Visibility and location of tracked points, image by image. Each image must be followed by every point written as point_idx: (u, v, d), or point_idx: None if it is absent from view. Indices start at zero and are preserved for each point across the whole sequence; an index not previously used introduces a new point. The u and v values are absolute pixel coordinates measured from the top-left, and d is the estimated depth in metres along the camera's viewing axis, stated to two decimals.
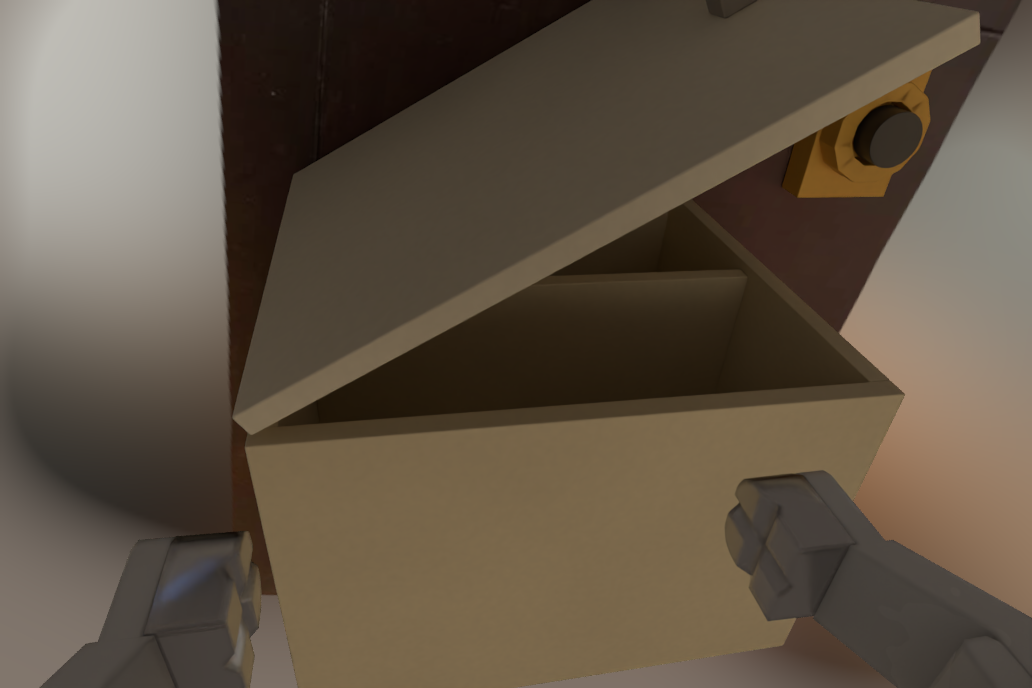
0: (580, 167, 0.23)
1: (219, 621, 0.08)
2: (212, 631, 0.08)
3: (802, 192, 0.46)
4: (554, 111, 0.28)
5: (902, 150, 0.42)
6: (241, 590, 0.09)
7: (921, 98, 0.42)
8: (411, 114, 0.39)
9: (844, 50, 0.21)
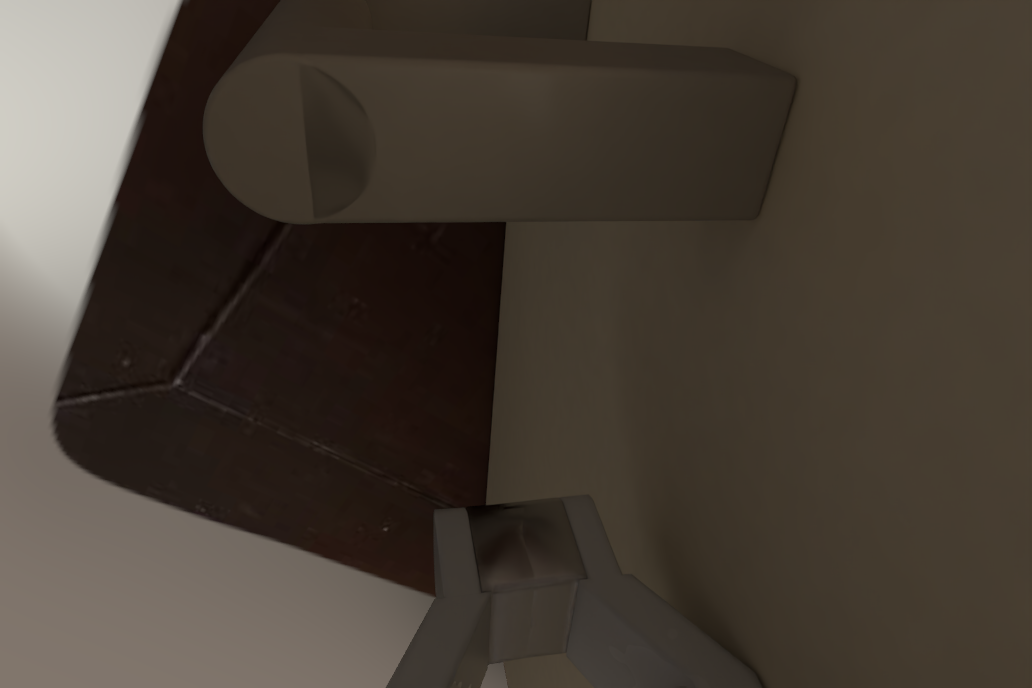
0: None
1: (541, 580, 0.09)
2: (535, 589, 0.09)
3: None
4: None
5: None
6: None
7: None
8: (500, 443, 0.25)
9: None
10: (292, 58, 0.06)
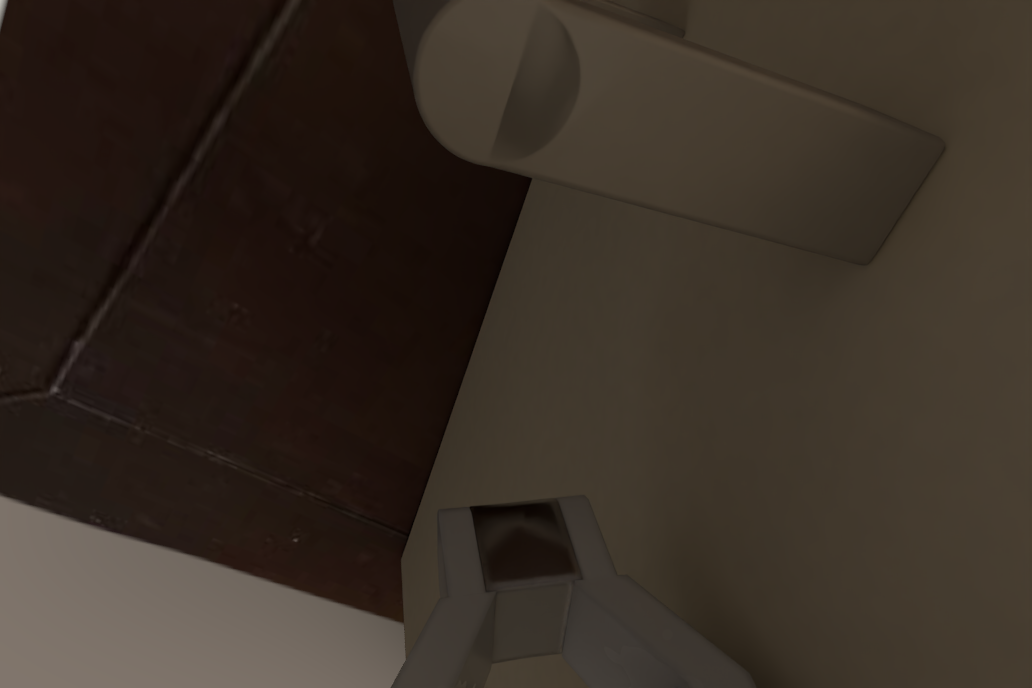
0: None
1: (546, 579, 0.09)
2: (540, 589, 0.09)
3: None
4: None
5: None
6: None
7: None
8: (453, 452, 0.25)
9: None
10: None
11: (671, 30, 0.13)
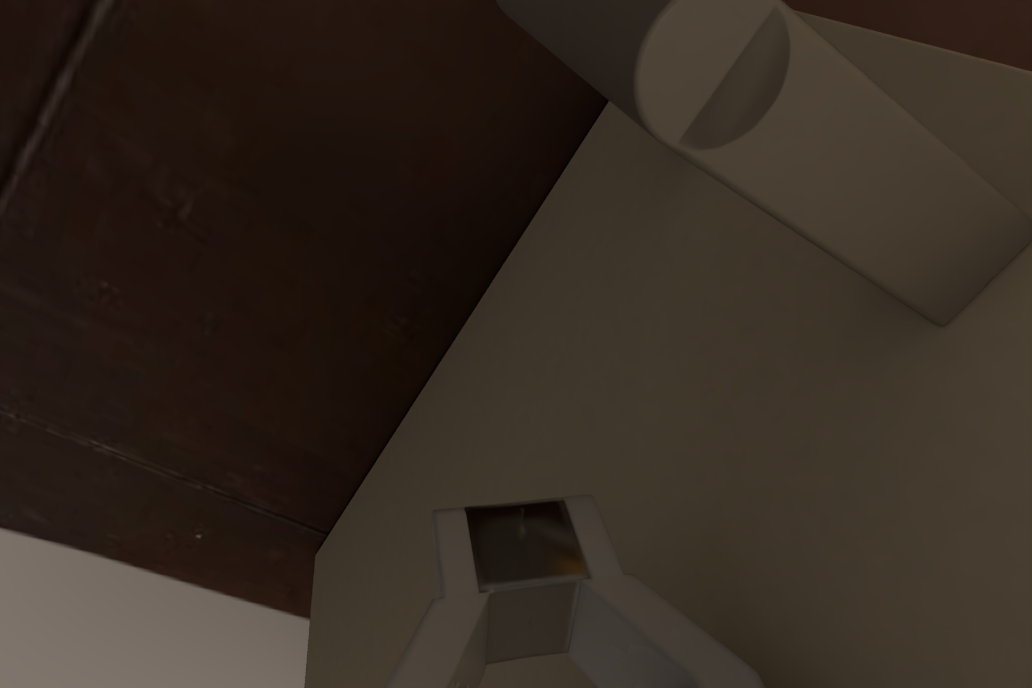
0: None
1: (540, 580, 0.09)
2: (534, 589, 0.09)
3: None
4: None
5: None
6: None
7: None
8: (405, 451, 0.24)
9: None
10: None
11: None
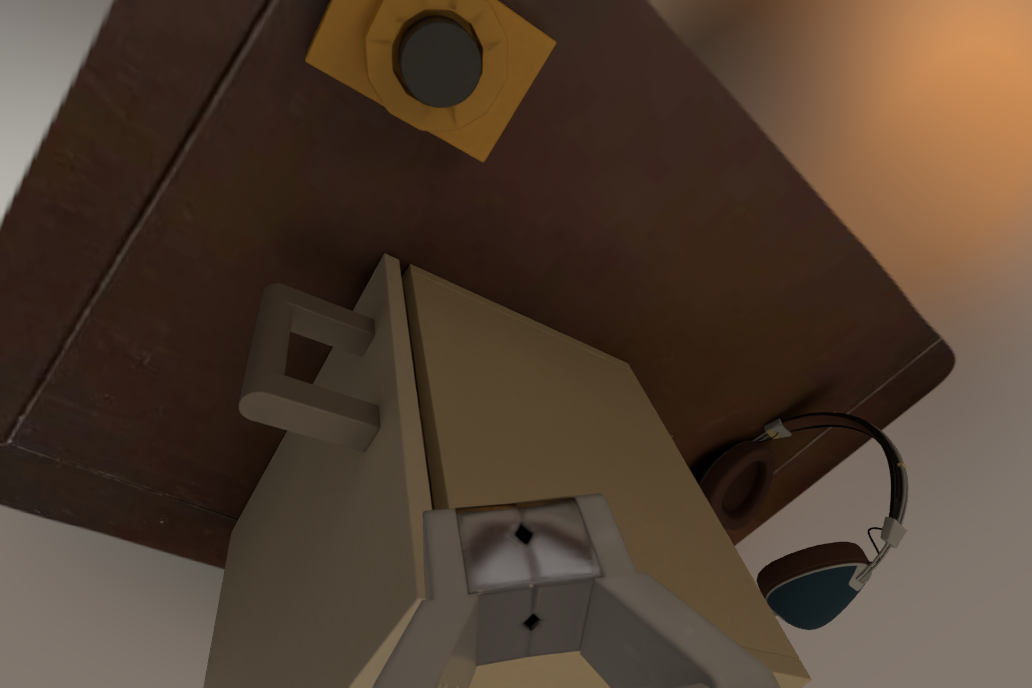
0: (281, 684, 0.28)
1: (529, 581, 0.09)
2: (523, 591, 0.09)
3: (480, 155, 0.35)
4: (297, 554, 0.33)
5: (461, 59, 0.29)
6: None
7: None
8: (271, 474, 0.45)
9: (373, 600, 0.23)
10: (267, 393, 0.27)
11: (368, 333, 0.35)
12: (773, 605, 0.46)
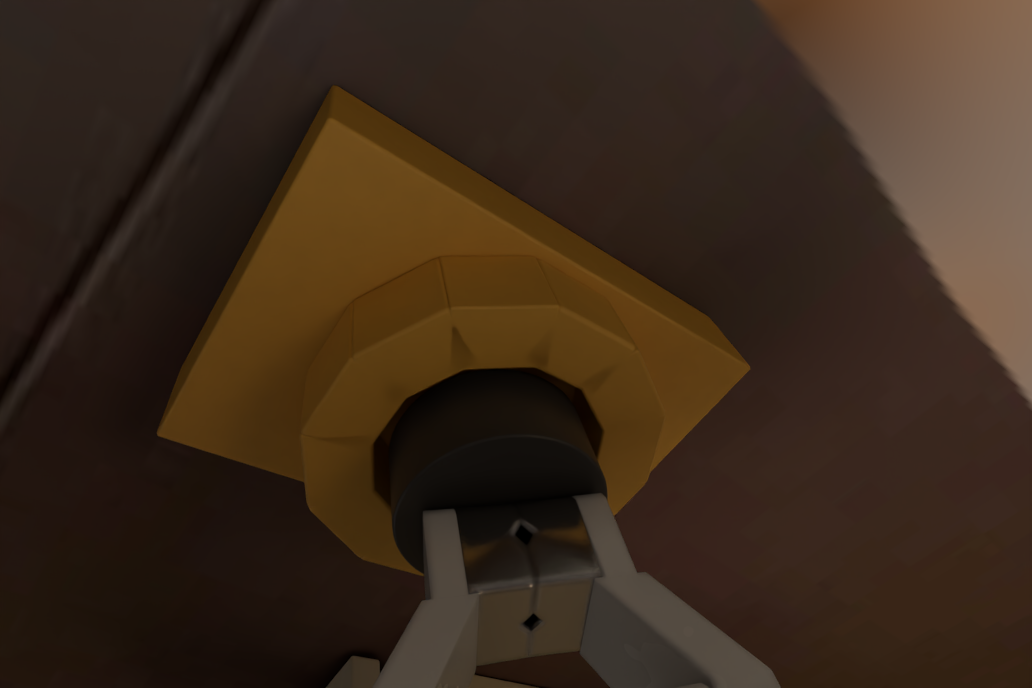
0: None
1: (529, 581, 0.09)
2: (523, 590, 0.09)
3: None
4: None
5: None
6: None
7: (435, 334, 0.10)
8: None
9: None
10: None
11: None
12: None
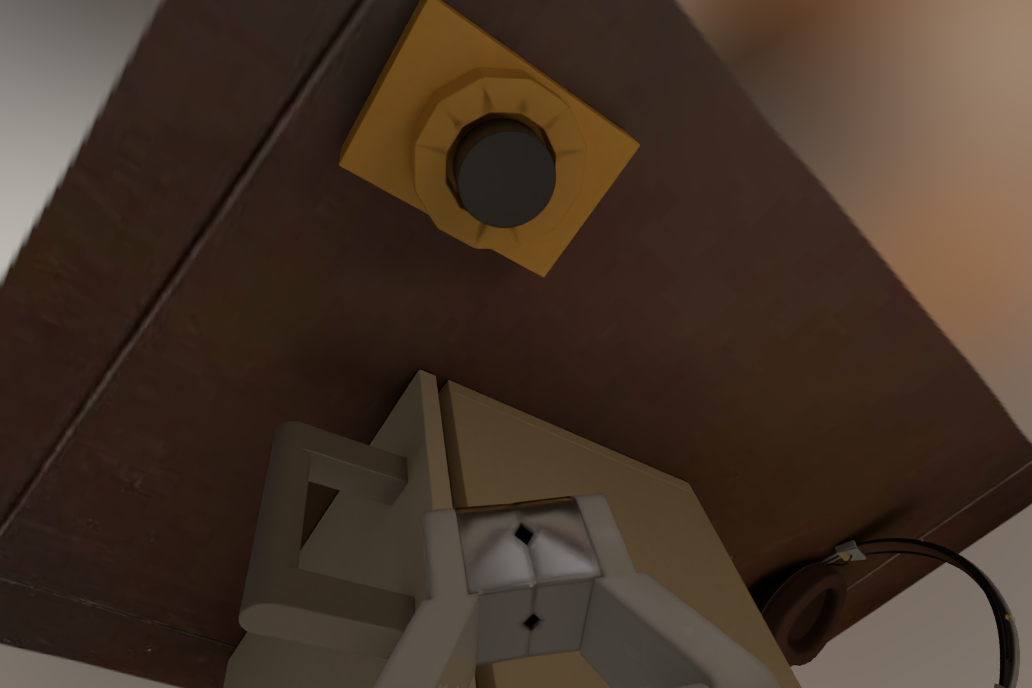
0: None
1: (529, 581, 0.09)
2: (523, 591, 0.09)
3: (540, 269, 0.29)
4: None
5: (532, 173, 0.24)
6: None
7: (476, 91, 0.23)
8: None
9: None
10: (276, 604, 0.21)
11: (400, 481, 0.29)
12: None
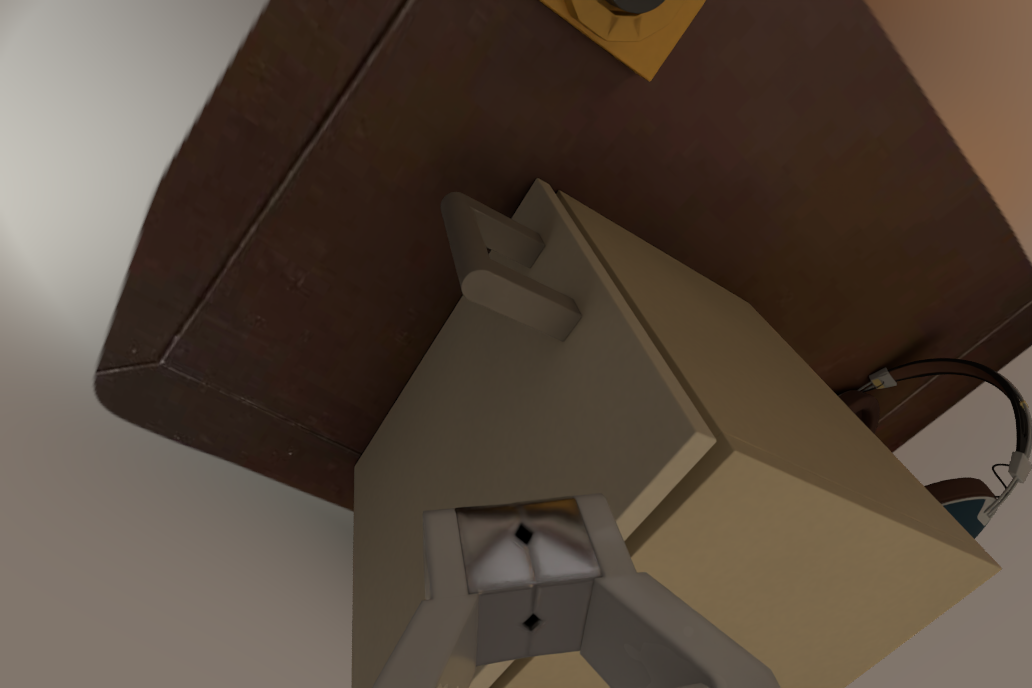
0: None
1: (529, 582, 0.09)
2: (523, 591, 0.09)
3: (647, 73, 0.36)
4: (476, 453, 0.34)
5: None
6: None
7: None
8: (406, 402, 0.46)
9: (622, 453, 0.24)
10: (489, 272, 0.28)
11: (540, 244, 0.36)
12: None
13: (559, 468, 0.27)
